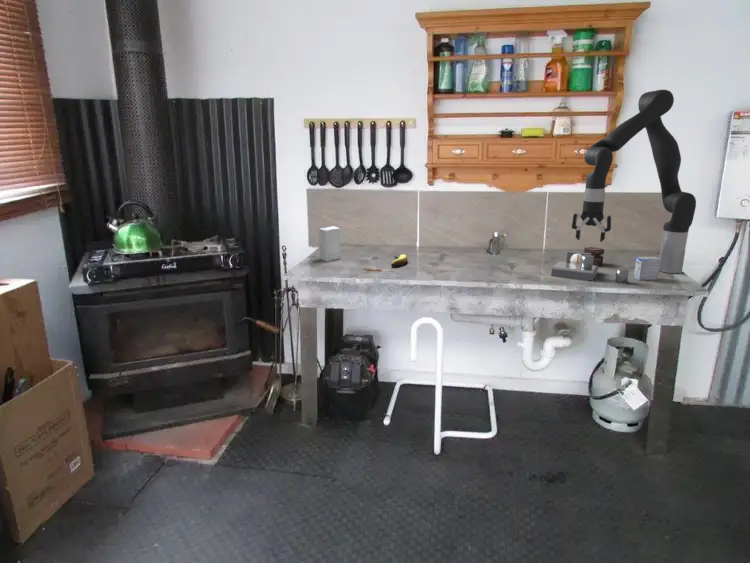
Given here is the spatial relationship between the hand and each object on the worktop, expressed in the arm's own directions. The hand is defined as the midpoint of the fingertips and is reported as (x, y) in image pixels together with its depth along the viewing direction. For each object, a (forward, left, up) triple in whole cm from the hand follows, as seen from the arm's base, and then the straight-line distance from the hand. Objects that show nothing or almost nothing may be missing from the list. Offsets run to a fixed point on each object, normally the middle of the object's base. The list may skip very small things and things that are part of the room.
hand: (589, 240), depth 210 cm
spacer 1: (0, 0, -12) cm, 12 cm away
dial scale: (+5, -2, -15) cm, 16 cm away
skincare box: (+109, +25, -16) cm, 113 cm away
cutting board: (+78, +15, -16) cm, 81 cm away
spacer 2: (-13, +1, -15) cm, 20 cm away
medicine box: (-21, -9, -16) cm, 28 cm away
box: (+1, -23, -16) cm, 28 cm away
